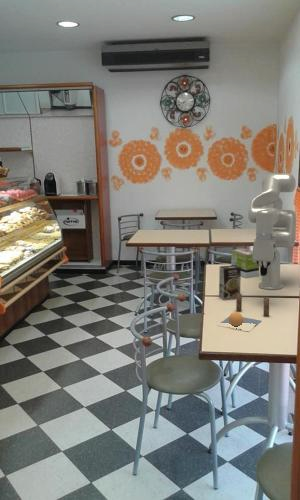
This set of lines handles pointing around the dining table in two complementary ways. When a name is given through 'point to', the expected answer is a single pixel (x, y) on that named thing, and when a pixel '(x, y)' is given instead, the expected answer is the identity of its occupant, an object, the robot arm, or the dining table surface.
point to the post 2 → (266, 307)
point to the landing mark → (244, 321)
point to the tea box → (245, 262)
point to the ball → (236, 319)
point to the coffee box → (229, 281)
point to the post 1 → (238, 302)
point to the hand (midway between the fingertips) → (263, 275)
